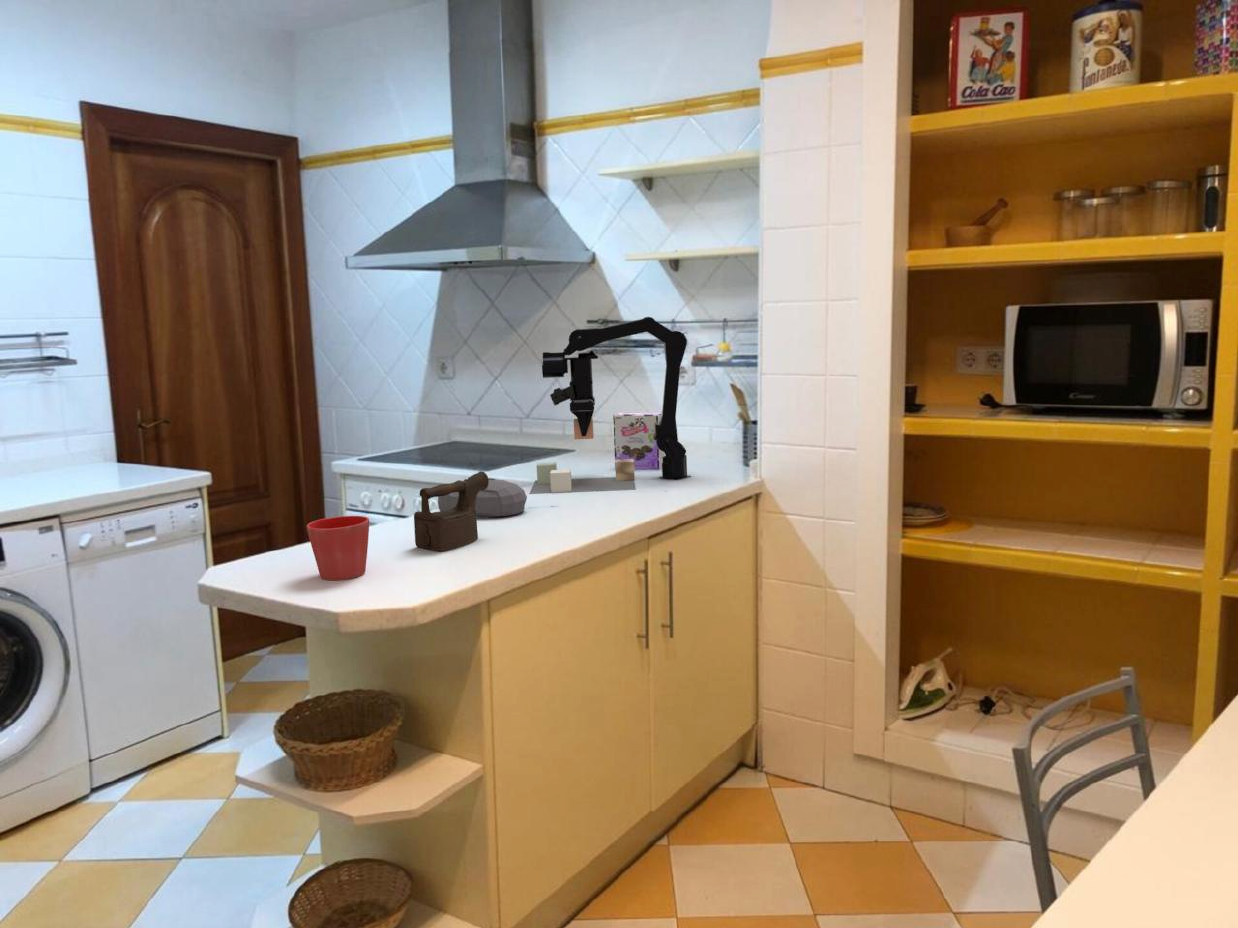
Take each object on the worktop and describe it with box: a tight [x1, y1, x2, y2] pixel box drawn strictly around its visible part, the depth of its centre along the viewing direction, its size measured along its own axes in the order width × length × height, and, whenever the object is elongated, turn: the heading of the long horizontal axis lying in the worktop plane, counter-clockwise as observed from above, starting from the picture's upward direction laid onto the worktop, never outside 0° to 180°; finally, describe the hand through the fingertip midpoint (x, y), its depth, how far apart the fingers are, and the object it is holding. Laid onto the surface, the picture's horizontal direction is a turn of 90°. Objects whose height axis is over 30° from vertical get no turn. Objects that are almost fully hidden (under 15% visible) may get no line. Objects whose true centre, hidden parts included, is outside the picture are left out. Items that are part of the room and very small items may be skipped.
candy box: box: [613, 412, 666, 471], centre depth 277 cm, size 14×6×16 cm, turn 68°
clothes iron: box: [413, 470, 489, 553], centre depth 191 cm, size 8×16×13 cm, turn 138°
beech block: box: [614, 459, 636, 481], centre depth 259 cm, size 5×5×5 cm
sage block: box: [536, 461, 558, 484], centre depth 258 cm, size 5×5×5 cm
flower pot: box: [306, 515, 370, 581], centre depth 170 cm, size 11×11×10 cm
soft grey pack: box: [437, 477, 528, 518], centre depth 222 cm, size 15×8×20 cm
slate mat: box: [528, 476, 637, 495], centre depth 252 cm, size 27×21×1 cm
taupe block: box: [550, 468, 572, 494], centre depth 245 cm, size 5×5×5 cm
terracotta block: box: [573, 417, 594, 440], centre depth 257 cm, size 5×5×5 cm
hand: (584, 434), depth 257 cm, fingers closed on terracotta block, 5 cm apart
